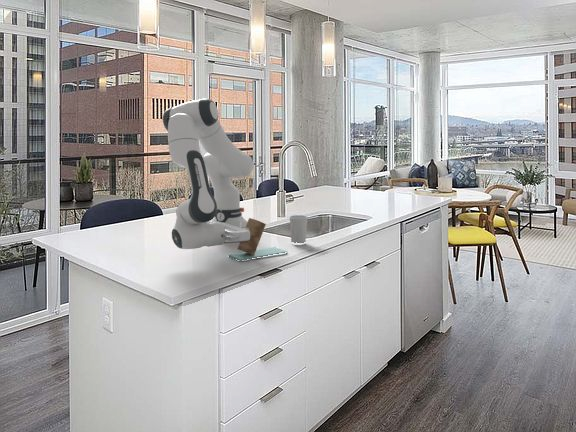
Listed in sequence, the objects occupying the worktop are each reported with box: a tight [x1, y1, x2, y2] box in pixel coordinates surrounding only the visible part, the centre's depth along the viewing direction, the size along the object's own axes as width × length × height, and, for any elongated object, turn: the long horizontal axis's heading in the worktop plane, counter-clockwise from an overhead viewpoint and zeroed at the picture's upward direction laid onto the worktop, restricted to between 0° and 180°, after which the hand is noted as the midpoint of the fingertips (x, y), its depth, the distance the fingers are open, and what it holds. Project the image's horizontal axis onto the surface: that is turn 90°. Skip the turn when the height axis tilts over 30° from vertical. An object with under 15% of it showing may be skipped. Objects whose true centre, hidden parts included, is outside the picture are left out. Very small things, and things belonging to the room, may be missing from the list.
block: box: [237, 217, 267, 255], centre depth 198 cm, size 5×5×13 cm
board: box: [227, 246, 288, 262], centre depth 201 cm, size 22×9×1 cm, turn 126°
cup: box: [289, 214, 309, 243], centre depth 221 cm, size 8×8×12 cm
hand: (247, 229), depth 196 cm, fingers closed
